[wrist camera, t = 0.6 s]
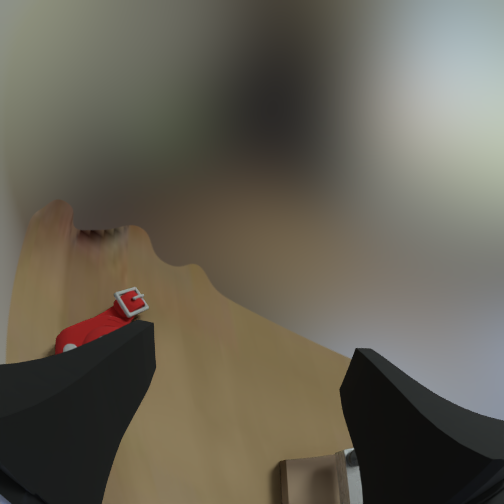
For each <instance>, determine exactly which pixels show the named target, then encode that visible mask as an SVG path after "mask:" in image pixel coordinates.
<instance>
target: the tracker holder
mask: <svg viewBox="0 0 504 504" xmlns="http://www.w3.org/2000/svg"><path fill="white" fill-rule="evenodd" d="M123 294H124V295H123ZM120 295H122V296H121V297H120ZM114 297H115V298H116V300H115V301H114V306H112V307H111V308H109V309H108V310H106V311H105V312H103V313H101V314H99V315H97V316H96V317H94V318H91V319H88V320H85V321H82V322H80V323H78V324H75V325H73V326H70V327H68V328H66V329H64V330H63V331H62V332H61V333H60V334H59V335H58V336H57V338H56V346H55V355H56V354H59V353H63V352H66V351H68V350H71V349H74V348H76V347H78V346H81V345H83V344H86V343H88V342H91V341H93V340H95V339H97V338H100V337H102V336H104V335H106V334H108V333H110V332H112V331H114V330H116V329H118V328H120V327H122V326H125V325H127V324H129V323H130V322H131V321H132V319H133V318H134V317H135V315H136V314H139V313H141V312H143V311H145V310H147V309H149V307H148V305H147V304H146V302H145V301H144V299H143V297H144V294H140V293H139V291H138V290H137V288H136V287H133V288H130V289H126V290H123V291H119V292H116V293H114Z"/></svg>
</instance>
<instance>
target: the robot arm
mask: <svg viewBox="0 0 504 504" xmlns="http://www.w3.org/2000/svg"><path fill="white" fill-rule="evenodd" d="M155 369H156V360H155V343H154V323H151V322H147V321H142V320H136V321H133V322H131V323H129V324H127V325H125V326H122V327H120V328H118V329H116V330H114V331H112V332H110V333H108V334H106V335H104V336H102V337H100V338H97V339H95V340H93V341H91V342H88V343H86V344H83V345H81V346H78V347H76V348H74V349H71V350H68V351H66V352H63V353H59V354H56V355H53V356H49V357H46V358H42V359H37V360H31V361H26V362H20V363H13V364H2V365H0V504H102V500H103V496H104V492H105V488H106V484H107V480H108V477H109V474H110V470H111V467H112V464H113V461H114V458H115V455H116V452H117V450H118V447H119V444H120V442H121V439H122V437H123V435H124V433H125V431H126V429H127V427H128V426H129V424H130V422H131V420H132V418H133V416H134V414H135V413H136V411H137V409H138V407H139V405H140V403H141V402H142V400H143V398H144V396H145V394H146V392H147V390H148V388H149V386H150V383H151V380H152V378H153V375H154V372H155ZM339 390H340V397H341V404H342V410H343V414H344V417H345V421H346V424H347V427H348V431H349V434H350V437H351V440H352V444H353V447H354V450H355V453H356V457H357V461H358V465H359V471H360V478H361V485H362V497H363V504H504V421H503V420H499V419H495V418H491V417H487V416H484V415H480V414H478V413H475V412H472V411H470V410H467V409H464V408H462V407H460V406H458V405H456V404H454V403H452V402H450V401H448V400H446V399H444V398H442V397H440V396H438V395H437V394H435V393H433V392H432V391H430V390H429V389H427V388H426V387H424V386H423V385H421V384H420V383H418V382H417V381H415V380H414V379H412V378H411V377H410V376H408V375H407V374H405V373H404V372H403V371H401V370H400V369H399V368H397V367H396V366H395V365H393V364H392V363H391V362H389V361H388V360H387V359H385V358H384V357H383V356H381V355H380V354H378V353H377V352H375V351H374V350H372V349H367V348H356V349H355V352H354V355H353V357H352V360H351V362H350V365H349V368H348V370H347V373H346V375H345V378H344V380H343V382H342V385H341V387H340V389H339Z"/></svg>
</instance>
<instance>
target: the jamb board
mask: <svg viewBox="0 0 504 504" xmlns="http://www.w3.org/2000/svg"><path fill="white" fill-rule="evenodd" d="M280 475H281V492H282V504H340V497H339V486H338V477H337V468H336V459H335V454H334V455H328V456H320V457H312V458H303V459H291V460H284V461H280Z"/></svg>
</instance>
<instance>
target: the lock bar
mask: <svg viewBox="0 0 504 504" xmlns="http://www.w3.org/2000/svg"><path fill="white" fill-rule="evenodd" d="M335 459H336V468H337V477H338V486H339V497H340V504H363V497H362V485H361V478H360V471H359V465H358V461H357V457H356V453H355V450H354V448H352V449H347V450H343V451H339V452H336V453H335Z"/></svg>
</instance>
